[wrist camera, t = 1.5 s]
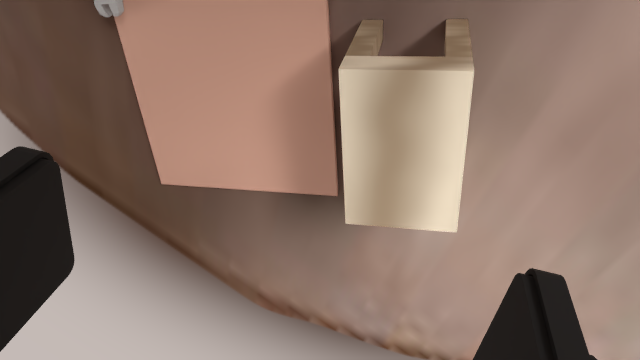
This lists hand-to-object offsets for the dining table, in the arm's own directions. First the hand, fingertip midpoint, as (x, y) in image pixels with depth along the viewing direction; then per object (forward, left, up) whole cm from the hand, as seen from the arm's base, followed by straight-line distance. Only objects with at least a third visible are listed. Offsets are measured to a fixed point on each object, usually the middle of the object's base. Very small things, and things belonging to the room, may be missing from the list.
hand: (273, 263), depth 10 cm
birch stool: (-2, +6, -23) cm, 23 cm away
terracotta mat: (+10, +7, -23) cm, 26 cm away
